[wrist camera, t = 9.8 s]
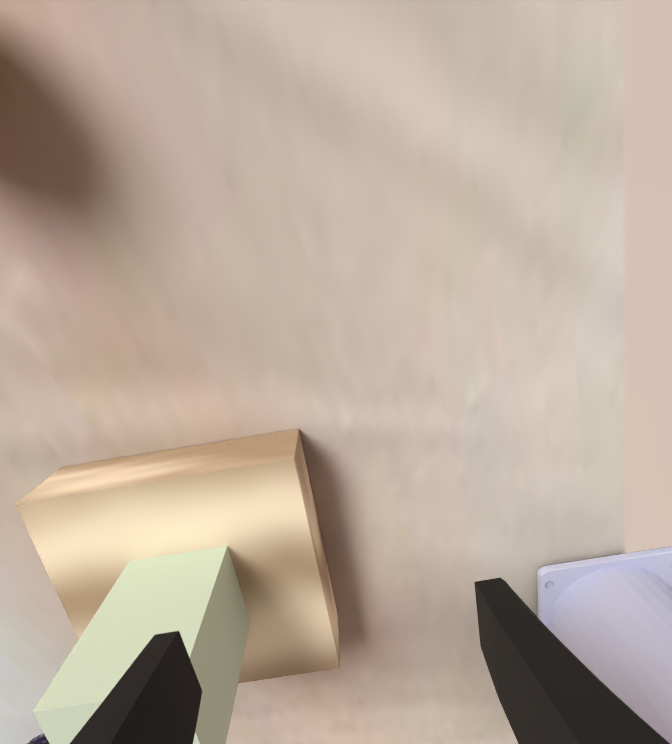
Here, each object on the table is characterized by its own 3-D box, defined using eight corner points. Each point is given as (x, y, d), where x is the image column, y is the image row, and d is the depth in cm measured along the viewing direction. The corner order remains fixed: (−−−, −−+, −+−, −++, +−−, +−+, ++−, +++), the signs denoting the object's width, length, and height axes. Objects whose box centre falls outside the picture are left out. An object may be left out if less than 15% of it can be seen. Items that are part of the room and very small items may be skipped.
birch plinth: (338, 615, 22) (339, 667, 20) (136, 646, 23) (109, 702, 20) (298, 428, 19) (294, 459, 16) (61, 467, 19) (15, 504, 16)
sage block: (250, 622, 18) (217, 786, 13) (158, 636, 19) (84, 805, 13) (227, 545, 17) (178, 689, 11) (129, 561, 17) (32, 712, 12)
